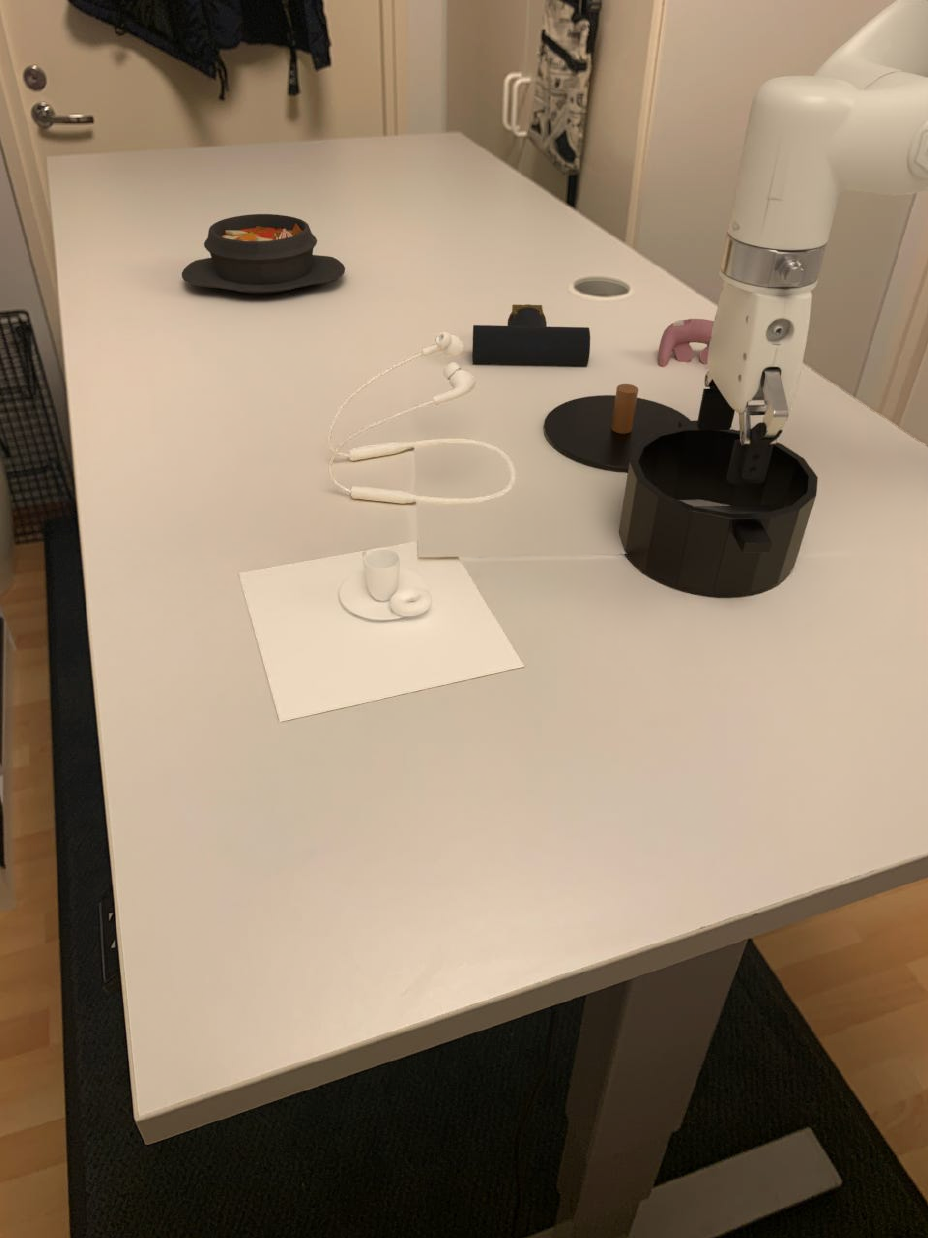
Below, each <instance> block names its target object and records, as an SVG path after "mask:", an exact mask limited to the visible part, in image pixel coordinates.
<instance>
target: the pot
mask: <svg viewBox="0 0 928 1238" xmlns="http://www.w3.org/2000/svg"><path fill="white" fill-rule="evenodd" d="M735 440H740V429H733V428H730V429H729V430H699V429H698V427H697V420H691V421H679V425H678V428H675V429H670V430H666V431H662V432H657V433H655V434H653V435H651V436H650V437H648V438H647V439H645V440H644V441H642V442H640V443H639V444H637V445H636V447H635V449H634V452H633V454H632V457H631V459H630V462H629V469H628V472H627V476H626V483H625V489H624V495H623V501H622V506H621V507H622V508H621V513H620V521H619V529H618V535H619V538H620V541H621V544H622V546H623V550H624V552H625V553H624V555H625V557H626V558H627V560H628V561H629V562H630V563H631V564H632V565H633V566H634V568H636V569H637V570H639V571H640V572H641V573H642V574H643V575H645V576H647V577H648V578H649V579H651V580H653V581H656V582H657V583H659V584H662V585H664V586H666V587H669V588H671V589H674V590H677V591H680V592H684V593H686V594H687V593H688V594H692V595H696V596H702V597H708V598H709V597H711V598H722V599H723V598H729V599H730V598H731V599H732V598H743V597H750V596H751V597H752V596H755V595H759V594H762V593H765V592H768V591H771V590H773V589H774V588H776V587H778V586H780V585H781V583H783V582H784V581H786V579H787V578H788V577H789V575H790V574H791V573H792V571H793V570H794V569H795V565H796V562H797V559H798V556H799V552H800V549H801V546H802V542H803V539H804V536H805V533H806V530H807V526H808V524H809V520H810V517H811V514H812V511H813V507H814V505H815V501H816V497H817V491H818V481H819V480H818V476H817V474H816V473H815V472H814V470H813V468H812V467H811V465H809V463H808V461H807V460H806V459H805V458H804V457H803V456H801V455H799V454H798V453H797V452H795V451H793V450H791V449H790V448H789V447H787V446H785V445H784V444H783V443H781V442H778V441H777V443H776V444H775V445H773V449H772V453H771V457H770V461H769V464H768V468H767V472H766V476H765V480H764V481H763V482H762V483H760V484H729V483H728V481H727V479H726V477H727V472H728V468H729V464H730V459H731V455H732V450H733V446H734V441H735ZM684 501H705V502H711V503H717V504H721V505H725V506H746V505H769V507H770V508H771V510H772V511H771V512H768V513H734V514H730V513H724V512H719V511H714V510H709V509H703V508H698V507H694V505H692V504H689V503H688V502H684Z"/></svg>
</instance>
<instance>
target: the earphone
mask: <svg viewBox="0 0 928 1238" xmlns="http://www.w3.org/2000/svg"><path fill="white" fill-rule="evenodd" d="M434 343H435V344H432V345H429V346H426V347H424V348H422V349H421V352H419V353H417V354H415V355H412V356H410V357H408V358H407V359H404V360H401V361H400V362H399V363H396V364H393V366H390V367H388V368H386V369H385V370H383V371H382V372H380V373H378V374H377V375H375V376H373V377H372V378H370V379H369V380H368V381H366V382H365V383H364V384H362V385H360V386H359V387H358V388H357V389H355V391H353V392H352V393H351V394H350V395H349V397H347V398H346V400H345V401H343V403H342V404H341V405H340V407H339V408H338V410H337V412H336V413H335V415H334V417H333V420H332V422H331V423H330V424H331V425H330V427H329V430H328V433H327V444H328V447H329V449H330V451H332V455H331V457H330V459H329V462H328V468H327V469H328V474H329V477H330V479H331V481H332V482H333V483H334V484H335V485H336V486H337V487H338V488H340V489H341V490H343V491H345V492H347V493H349V495H350V497H351V499H356V500H366V501H374V502H384V503H394V504H400V505H401V504H403V505H405V504H413V503H419V502H420V503H430V504H431V503H432V504H433V503H434V504H448V505H451V504H452V505H453V504H456V505H457V504H458V505H459V504H473V503H474V504H475V503H480V502H486V501H491V500H494V499H497V498H499V497H501V496H503V495H505V494H507V493H509V491H510V490H511V489H512V488H513V487H514V485H515V483H516V479H517V472H516V468H515V465H514V463H513V461H512V459H511V458H510V457H509V455H507V453H505V452H504V451H503V450H502V449H501V448H499V447H497V446H495V445H494V444H491V443H488V442H485V441H481V440H478V439H470V438H461V437H458V438H456V437H447V438H445V437H444V438H443V437H442V438H431V439H423V440H416V441H409V442H407V441H406V442H405V441H404V442H403V441H391V442H380V443H374V444H369V445H368V444H367V445H363V446H356V447H354V448H349V449H348V450H347V453H344V452H340V450H341V449H342V448H343V447H344V446H345V445H346V444H347V443H349V442H350V441H351V440H353V439H354V438H356V437H358V436H359V435H361V434H363V433H365V432H367V431H368V430H370V429H373V428H376V427H377V426H380V425H382V424H384V423H387V422H389V421H392V420H394V419H396V418H399V417H402V416H404V415H407V414H409V413H412V412H414V411H417V410H420V409H422V408H425V407H428V406H431V405H433V404H434V405H435V406H438V405H441V404H444V403H448V402H451V401H453V400H457V399H459V398H461V397H464V396H466V395H467V394H469V393H470V392H472V391H473V390H474V389H475V387H476V384H477V383H476V382H477V381H476V378H475V377H474V376H473V374H472V373H471V372H469V371H467V370H464V369H462V367H461V365H460V364H459V363H458V362H454V361H452V362H450V363H449V364H447V365H446V366H445V367H444V369H443V376H444V378H445V379H446V380H447V381H449V385H450V387H451V388H452V389H450V390H448V391H445V392H442V393H439V394H436V395H434V396H433V397H432V398H433V399H432V400H430V401H426V402H424V403H421V404H418V405H416V406H414V407H413V406H412V407H411V408H408V409H405V410H402V411H400V412H397V413H395V414H393V415H390V416H388V417H386V418H383V419H381V420H378V421H376V422H374V423H372V424H370V425H367V426H365V427H363V428H361V429H359V430H357V431H356V432H354V433H353V434H351V435H350V436H348V437H346V438H345V439H344V440H343V441H342V442H341V443H340V444H339V445H338V446H337V447H336V448H334V447H333V445H332V441H331V439H332V433H333V430H334V427H335V424H336V422H337V420H338V417H340V414H341V412H342V411H343V409H344V408H345V407H346V405H347V404H348V403H349V402H350V401H351V399H353V398H354V397H355V396H356V395H357V394H359V393H360V392H361V391H362V390H363V389H365V388H366V387H367V386H368V385H370V384H372V383H373V382H374V381H376V380H378V379H379V378H381V377H382V376H384V375H386V374H387V373H390V372H391V371H393V370H395V369H397V368H399V367H401V366H403V365H404V364H407V363H409V362H412V361H413V360H416V359H417V358H420V357H422V356H424V357H428V356H431V355H434V354H436V353H439V352H442V353H443V354H444V355H445V356H446V357H448V358H450V359H458V358H460V357H461V356H462V355H463V353H464V351H465V344H464V342H463V341H462V339H461V338H460V337H459V336H457V335H455V334H452V333H449V332H448V331H440V332H438V334H437V335H436V336H435V339H434ZM453 443H454V444H455V443H457V444H459V443H460V444H470V445H471V444H472V445H478V446H482V447H485V448H488V449H491V450H493V451H494V452H496V453H498V454H499V455H500V456H501V457H502V458H503V459H504V461H505V462H506V465H507V467H508V470H509V481H508V483H507V484H506V485H505V487H503V488H502V489H500V490H499V491H497V492H494V493H490V494H488V495H483V496H475V497H439V496H428V495H419V494H414V493H410V492H408V491H405V490H398V489H388V488H380V487H373V486H372V487H371V486H362V485H352V486H351V488H350V489H349V488H347V487H346V486H344V485H342V484H340V483H339V481H337V480H336V478H335V477H334V475H333V471H332V466H333V462H334V460H335V458H336V456H337V455H338V456H340V457H346V458H348V459H349V461H351V462H354V461H359V460H360V461H361V460H367V459H371V458H379V457H384V456H390V455H396V454H399V453H402V452H404V451H406V450H409V449H415V448H416V447H422V446H423V447H424V446H428V445H429V446H430V445H438V444H453Z"/></svg>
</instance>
